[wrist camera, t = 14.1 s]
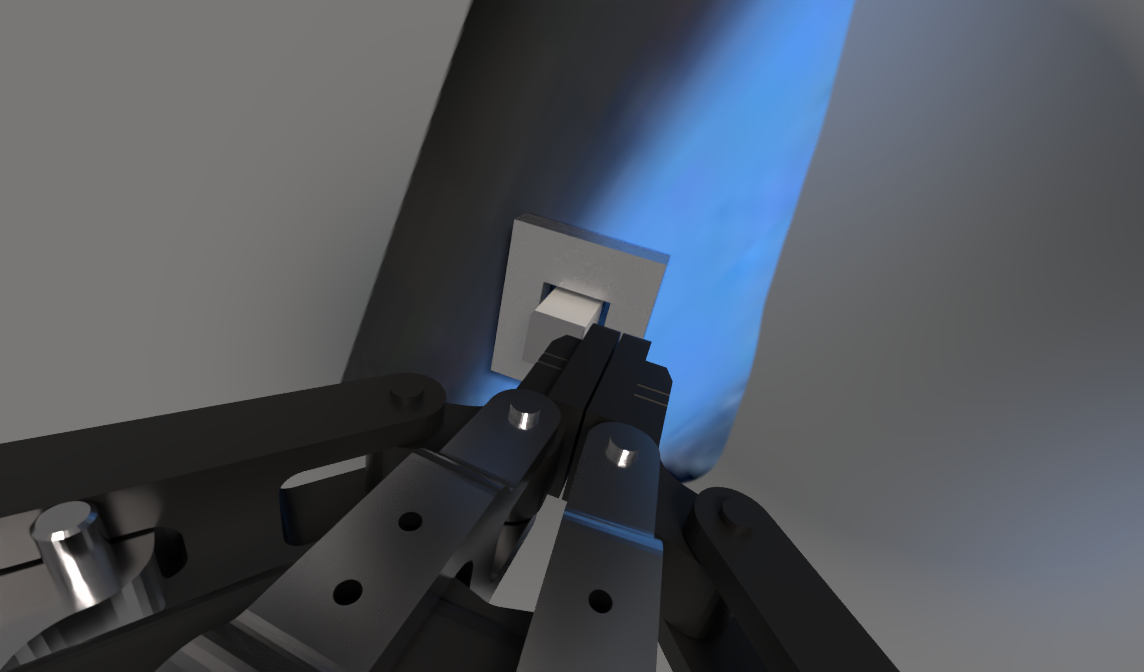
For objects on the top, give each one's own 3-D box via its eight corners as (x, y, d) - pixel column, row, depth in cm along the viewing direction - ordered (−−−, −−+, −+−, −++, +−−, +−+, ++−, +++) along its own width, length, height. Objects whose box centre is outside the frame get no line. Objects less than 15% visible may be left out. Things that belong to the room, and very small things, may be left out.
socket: (526, 212, 40) (510, 221, 37) (670, 255, 38) (665, 267, 35) (502, 357, 46) (487, 373, 44) (623, 399, 45) (616, 419, 42)
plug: (560, 283, 42) (530, 314, 36) (605, 297, 41) (582, 331, 35) (551, 324, 44) (521, 360, 37) (593, 338, 43) (570, 377, 37)
